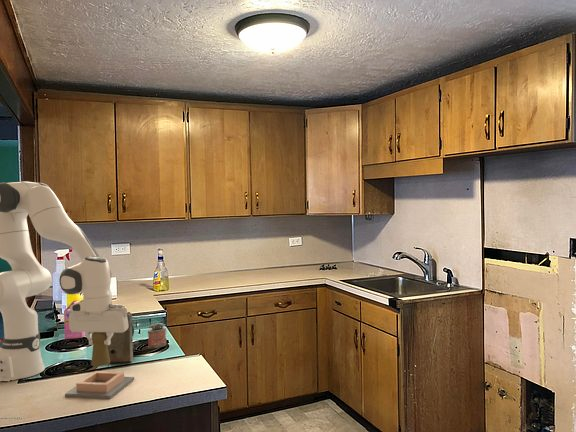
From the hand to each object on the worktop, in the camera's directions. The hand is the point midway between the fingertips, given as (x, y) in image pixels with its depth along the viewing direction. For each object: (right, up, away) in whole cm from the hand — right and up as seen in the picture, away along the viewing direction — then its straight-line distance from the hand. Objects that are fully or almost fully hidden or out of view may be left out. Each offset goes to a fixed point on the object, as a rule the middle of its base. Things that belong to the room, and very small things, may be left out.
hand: (99, 344), depth 159 cm
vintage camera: (-3, -14, +32) cm, 35 cm away
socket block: (0, -15, +1) cm, 15 cm away
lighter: (+7, -13, +45) cm, 47 cm away
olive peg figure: (0, -7, 0) cm, 6 cm away
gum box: (-39, -14, +71) cm, 82 cm away
